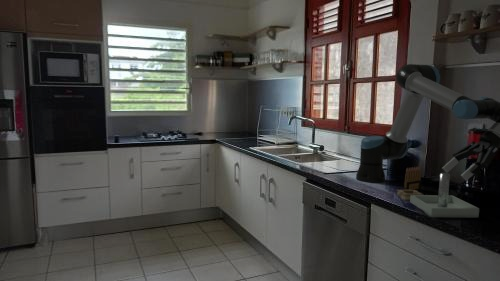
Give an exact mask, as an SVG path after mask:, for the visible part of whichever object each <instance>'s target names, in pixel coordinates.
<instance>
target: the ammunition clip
mask: <svg viewBox="0 0 500 281" xmlns="http://www.w3.org/2000/svg"><path fill="white" fill-rule="evenodd" d="M421 170H422V169H421V166H420V165H419V166H414V167H413V166H412V167H407V168H406V170H405V178H404V182H403V189H402V190H416V191H420V190H422V180H421V179H422V172H421Z"/></svg>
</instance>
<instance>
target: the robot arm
mask: <svg viewBox="0 0 500 281" xmlns="http://www.w3.org/2000/svg"><path fill="white" fill-rule="evenodd" d="M395 80H396V84H397V85H398V86H399V87H401V88H402V89H403V90H405V91H406V92H405V94H404V97H403V99H402V102H401V103H400V106H399V109H398V110H397V114H396V117H395V118H394V121H393V123H392V126H391V128H390V130H389V131H387V132H385V134H384V137H383V136H381V135H380V136H379V135H378V136H377V135H374V136H371V135H370V136H365V137H363V138H362V139H361V141H360V142H361V143H360V158H359V159H360V161H359V167H358V170H357V172H356V174H355V175H356V176H355V179H356V180H358V181H360V182H365V183H383V182H386V175H385V171H384V165H383V163H384V161H385V160H398V159H402V158H404V157H405V156H406V155H407V153H408V151H409V143H408V138H407V135H408V133H409V132H410V131H409V130H410V129H411V126H412V124H413V121H414V120H415V118H416V115H417V113H418V110H419V109H420V106H421V103H422V101H423V99H424V98H426V99H428V100H430V101H432V102H433V103H435V104H438V105H440V106H441V107H444V108H445V109H448V110H449V111H451V112H452V113H453V115H454V116H455V117H456V118H458V119H461V120H477V119H478V120H479V119H480V120H483V119H488V120H491V121H493V122H494V123H493V124H492V125H491V126H490V127H489V128H488V129H487V130H486V131H485V132H483V133H482V134H481V135H480V136H479V141H478V142H476V141H474V140H473V141H471V142H470V143H469V144H467V145H466V146H464V147H462V148H461V149H459V150H457V151H456V152H453V153H452V158H451V159H450V160H449V161H448V162H447V163H445V165H443V167H441V169H442V170H443V171H444V173H448V174H449V172H450V171H451V170H452V169H453V168H455V166H457V165H458V164H459V163H460V161H462V160H464V159H466V158H469V157H471V156H476V155H478V156H477V159H476V161H475V163H473V164H472V165H471V166H469V167H468V168H467V169H466V170H465V171H464V172H462V173H461V174H460V176H461V177H462V178H463V179H464V181H465V182H466V181H468V180H469V179H470V178H472V177H473V175H475V174H476V173H477V172H478V171H479V170H481V169H485V170H486V169H488V167H489V166H490V165H491V163H492V161H493V159H494V158H495V155H496V154H497V153H499V151H500V150H499V148H500V101H498V100H496V99H494V98H491V97H487V96H481V97H480V98H478V99H472V98H470V97H468V96H465V95H464V94H462V93H460V92H457V91H456V90H453V89H451V88H448V87H447V86H444V85H443V84H440V81H441V74H440V71H439V70H438V68H437V67H435V66H433V65H431V64H413V63H411V64H410V63H409V64H405V65H403V66H401V67H400V68H398V70H397V72H396V74H395Z"/></svg>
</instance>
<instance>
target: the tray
mask: <svg viewBox="0 0 500 281" xmlns="http://www.w3.org/2000/svg"><path fill="white" fill-rule="evenodd" d="M409 203H411V204H412V205H414V206H415V207H417V208H418V209H420V210H422V212H423V213H424V214H426V215H427V216H428V217H430V218H480V216H479V214H480V208H479V207H477V206H475V205H473V204H471V203H469V202H467V201H465V200H462V199H461V198H458V197H456V196H454V195H449V194H448V205H447V208H437V206H438V195H430V194H429V195H428V194H425V195H424V194H423V195H410V200H409Z"/></svg>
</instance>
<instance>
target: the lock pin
mask: <svg viewBox="0 0 500 281" xmlns="http://www.w3.org/2000/svg"><path fill="white" fill-rule="evenodd" d="M450 178H451V174H450V173H449V172H448V173H446V172H440V173H439V179H438V180H439V181H438V182H439V183H438V206H437V208H447V205H448V195H449V189H450Z"/></svg>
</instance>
